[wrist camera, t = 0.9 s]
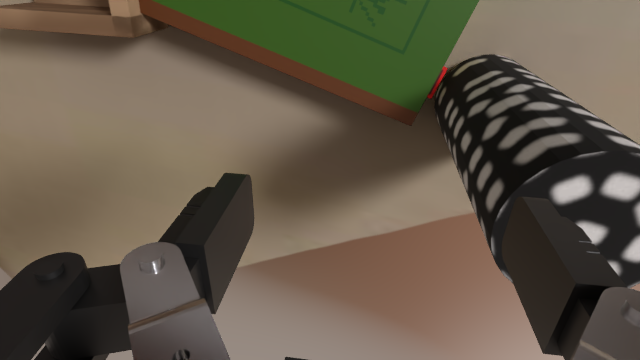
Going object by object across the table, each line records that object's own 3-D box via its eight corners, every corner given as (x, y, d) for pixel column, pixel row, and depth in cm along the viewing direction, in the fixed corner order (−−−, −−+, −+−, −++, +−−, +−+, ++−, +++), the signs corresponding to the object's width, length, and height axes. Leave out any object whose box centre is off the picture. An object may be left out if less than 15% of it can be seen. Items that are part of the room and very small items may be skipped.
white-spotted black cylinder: (421, 130, 37) (461, 274, 20) (456, 42, 33) (548, 126, 16) (504, 153, 37) (617, 318, 20) (550, 69, 33) (744, 182, 16)
